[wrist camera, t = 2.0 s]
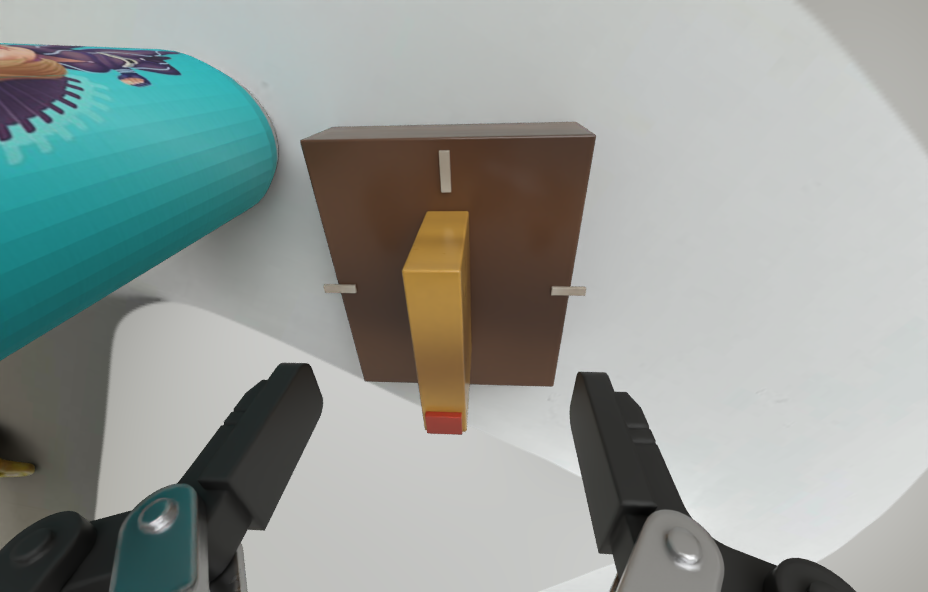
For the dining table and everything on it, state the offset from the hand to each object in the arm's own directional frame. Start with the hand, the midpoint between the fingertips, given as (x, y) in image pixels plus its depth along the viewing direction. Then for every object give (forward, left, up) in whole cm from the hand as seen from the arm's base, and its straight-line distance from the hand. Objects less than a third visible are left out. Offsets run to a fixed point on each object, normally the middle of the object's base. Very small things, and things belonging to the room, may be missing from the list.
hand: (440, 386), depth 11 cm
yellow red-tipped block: (0, 0, -5) cm, 5 cm away
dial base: (0, 0, -8) cm, 8 cm away
